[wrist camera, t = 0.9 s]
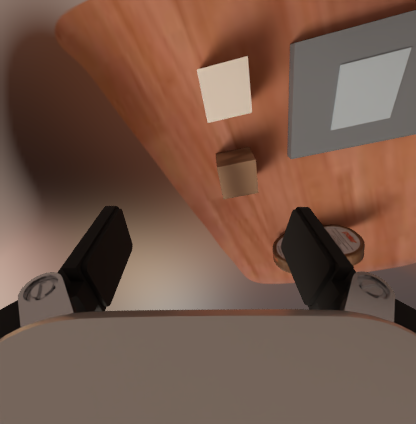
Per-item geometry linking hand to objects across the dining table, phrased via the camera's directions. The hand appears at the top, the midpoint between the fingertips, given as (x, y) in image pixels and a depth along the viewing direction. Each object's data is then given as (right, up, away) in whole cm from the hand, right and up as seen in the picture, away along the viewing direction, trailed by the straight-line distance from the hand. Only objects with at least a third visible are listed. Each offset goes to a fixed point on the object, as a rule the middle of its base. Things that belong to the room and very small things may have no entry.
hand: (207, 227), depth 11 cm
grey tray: (+19, +16, +13) cm, 28 cm away
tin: (+20, -3, +28) cm, 34 cm away
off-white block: (+2, +16, +13) cm, 21 cm away
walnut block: (+4, +8, +19) cm, 22 cm away
